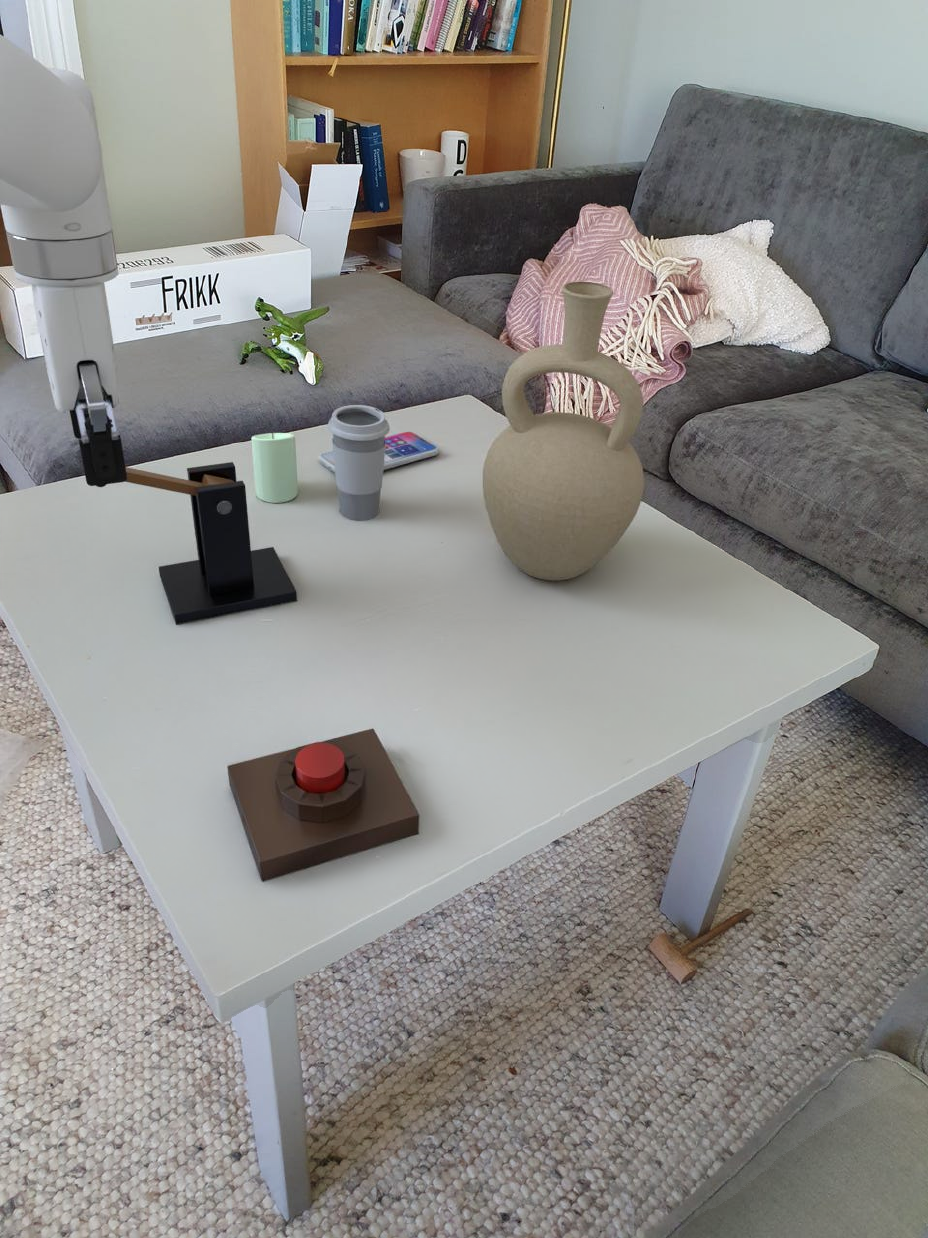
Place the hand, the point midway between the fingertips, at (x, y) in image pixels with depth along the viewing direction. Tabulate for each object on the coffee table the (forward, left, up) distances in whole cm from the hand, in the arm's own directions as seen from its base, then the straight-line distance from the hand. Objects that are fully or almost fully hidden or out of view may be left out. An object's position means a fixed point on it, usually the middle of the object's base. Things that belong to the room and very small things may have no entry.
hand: (100, 458), depth 80 cm
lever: (+5, 0, -4) cm, 6 cm away
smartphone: (+35, +23, -16) cm, 45 cm away
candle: (+20, +18, -16) cm, 32 cm away
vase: (+44, -7, -16) cm, 47 cm away
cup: (+28, +11, -16) cm, 34 cm away
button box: (+10, -32, -16) cm, 37 cm away
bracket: (+10, 0, -16) cm, 19 cm away
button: (+10, -32, -13) cm, 35 cm away
